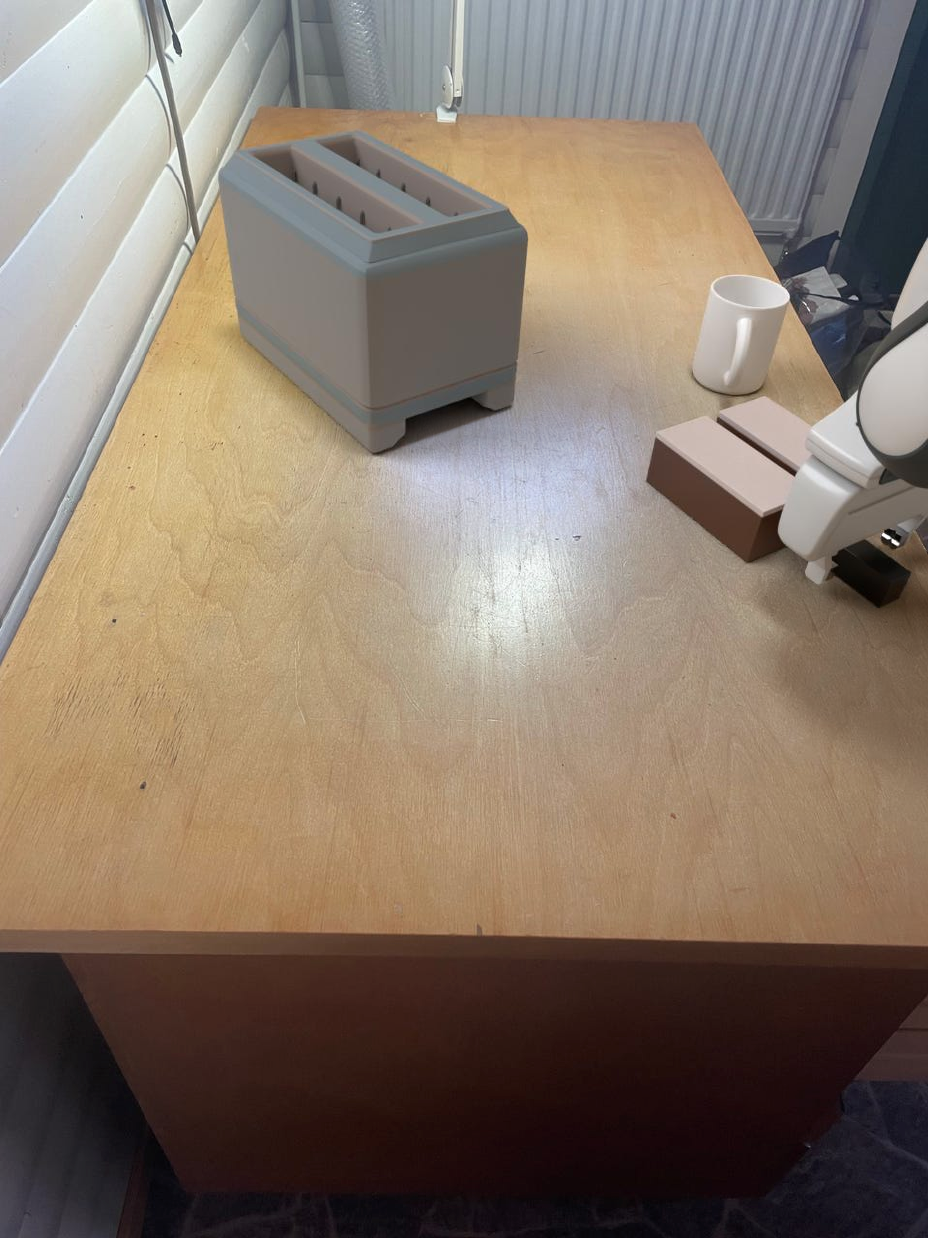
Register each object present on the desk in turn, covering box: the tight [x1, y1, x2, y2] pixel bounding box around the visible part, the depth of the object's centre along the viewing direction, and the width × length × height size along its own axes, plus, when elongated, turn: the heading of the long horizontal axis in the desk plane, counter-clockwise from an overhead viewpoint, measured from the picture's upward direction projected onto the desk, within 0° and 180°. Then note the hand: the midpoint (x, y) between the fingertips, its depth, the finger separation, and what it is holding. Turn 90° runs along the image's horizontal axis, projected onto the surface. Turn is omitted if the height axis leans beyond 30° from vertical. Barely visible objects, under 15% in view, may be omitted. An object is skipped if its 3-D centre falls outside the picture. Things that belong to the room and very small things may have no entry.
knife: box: [831, 538, 913, 609], centre depth 83 cm, size 22×3×3 cm, turn 31°
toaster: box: [217, 129, 529, 454], centre depth 96 cm, size 19×33×20 cm, turn 36°
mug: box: [692, 274, 791, 396], centre depth 99 cm, size 12×8×10 cm
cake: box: [645, 395, 814, 563], centre depth 85 cm, size 14×14×6 cm
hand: (855, 560), depth 79 cm, fingers open, 8 cm apart
